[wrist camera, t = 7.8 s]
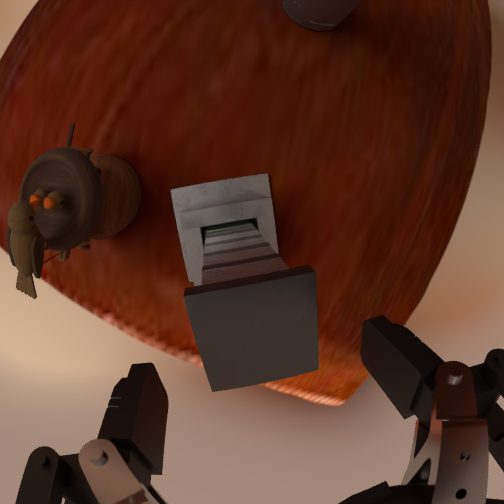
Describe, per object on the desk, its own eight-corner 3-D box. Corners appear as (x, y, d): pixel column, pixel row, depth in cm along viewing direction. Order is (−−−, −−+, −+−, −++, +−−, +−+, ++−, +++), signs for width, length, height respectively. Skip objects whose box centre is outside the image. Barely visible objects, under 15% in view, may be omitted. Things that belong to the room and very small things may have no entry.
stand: (171, 189, 32) (149, 196, 20) (266, 173, 33) (294, 172, 22) (189, 279, 36) (181, 326, 24) (277, 263, 37) (307, 302, 25)
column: (201, 218, 28) (183, 296, 10) (249, 210, 28) (315, 271, 10) (210, 264, 29) (212, 391, 11) (256, 256, 29) (318, 369, 12)
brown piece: (146, 246, 33) (62, 322, 14) (78, 244, 33) (-20, 300, 13) (148, 128, 29) (55, 84, 10) (78, 136, 29) (-30, 122, 9)
